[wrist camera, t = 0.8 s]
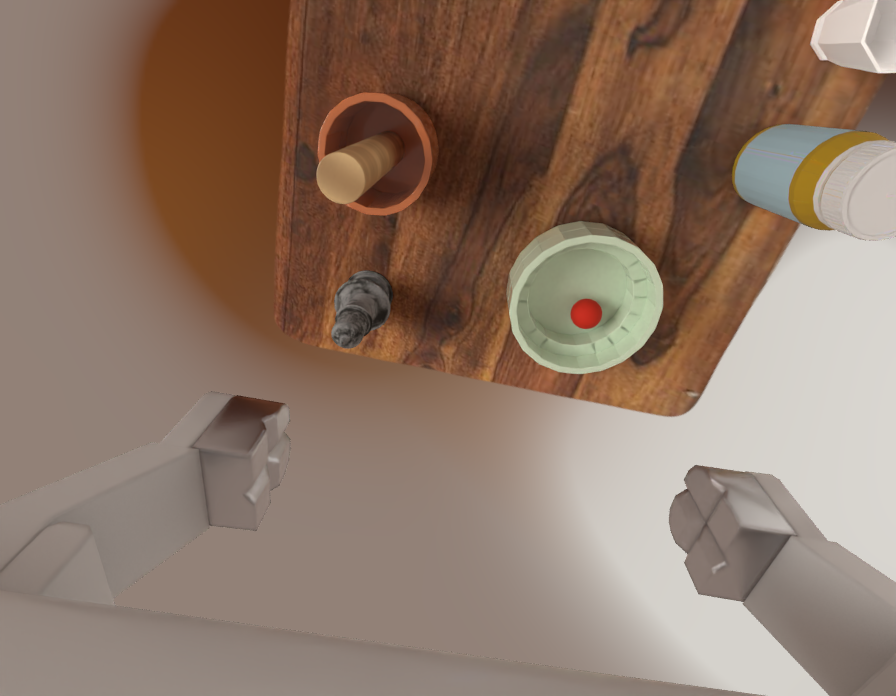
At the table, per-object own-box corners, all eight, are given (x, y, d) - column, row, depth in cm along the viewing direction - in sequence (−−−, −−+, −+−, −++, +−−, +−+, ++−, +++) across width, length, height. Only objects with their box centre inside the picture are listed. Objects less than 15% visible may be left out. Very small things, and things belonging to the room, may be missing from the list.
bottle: (713, 186, 45) (810, 224, 32) (761, 110, 42) (892, 117, 29) (774, 214, 46) (893, 262, 33) (826, 142, 43) (982, 163, 30)
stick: (379, 125, 44) (324, 143, 28) (409, 139, 44) (372, 165, 28) (369, 157, 45) (310, 191, 29) (398, 170, 45) (356, 212, 30)
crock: (359, 74, 42) (336, 70, 35) (454, 120, 44) (450, 125, 37) (330, 173, 47) (304, 187, 40) (417, 212, 48) (407, 233, 41)
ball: (578, 289, 50) (584, 300, 47) (604, 301, 50) (611, 313, 48) (562, 314, 51) (567, 327, 49) (588, 325, 52) (594, 338, 49)
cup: (774, 59, 40) (838, 52, 33) (864, -85, 36) (960, -130, 29) (842, 93, 41) (919, 93, 34) (938, -44, 37) (1050, -77, 29)
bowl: (548, 195, 46) (557, 209, 41) (671, 255, 49) (695, 274, 43) (484, 316, 53) (485, 341, 48) (595, 364, 55) (608, 393, 50)
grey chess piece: (338, 269, 51) (302, 314, 41) (391, 266, 51) (369, 311, 40) (347, 318, 54) (316, 373, 43) (398, 316, 54) (379, 371, 43)
